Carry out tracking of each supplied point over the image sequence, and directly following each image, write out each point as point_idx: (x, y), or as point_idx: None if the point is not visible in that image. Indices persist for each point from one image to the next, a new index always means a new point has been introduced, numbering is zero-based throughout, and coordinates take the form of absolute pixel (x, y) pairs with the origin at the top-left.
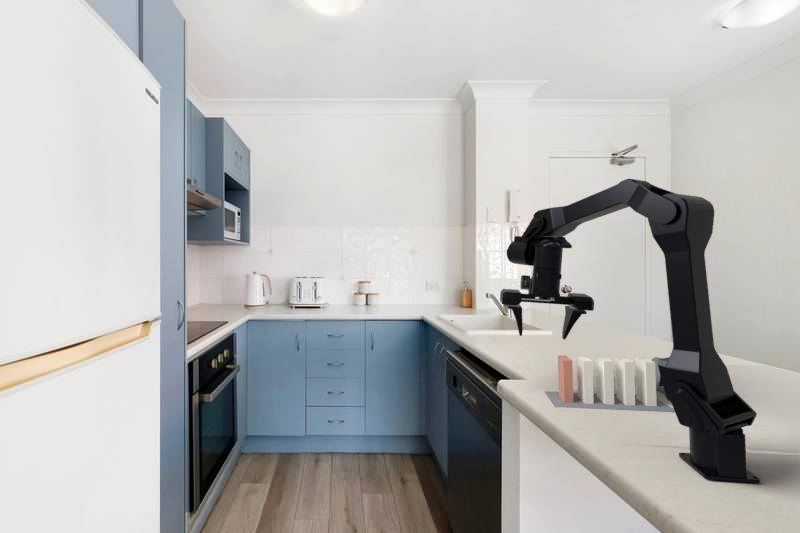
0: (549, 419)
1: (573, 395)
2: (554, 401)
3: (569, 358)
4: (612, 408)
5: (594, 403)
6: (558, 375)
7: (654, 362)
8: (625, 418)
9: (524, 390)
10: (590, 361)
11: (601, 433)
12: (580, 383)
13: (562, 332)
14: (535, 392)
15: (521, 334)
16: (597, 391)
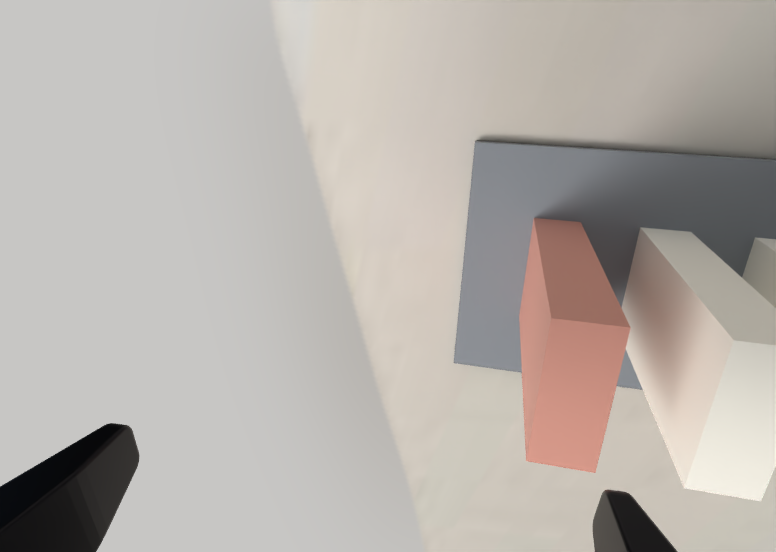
0: (399, 446)
1: (621, 213)
2: (474, 303)
3: (605, 418)
4: None
5: None
6: (539, 258)
7: None
8: None
9: (374, 98)
10: (740, 495)
11: (531, 545)
12: (650, 315)
13: (624, 548)
14: (429, 132)
15: (127, 479)
16: (768, 258)
